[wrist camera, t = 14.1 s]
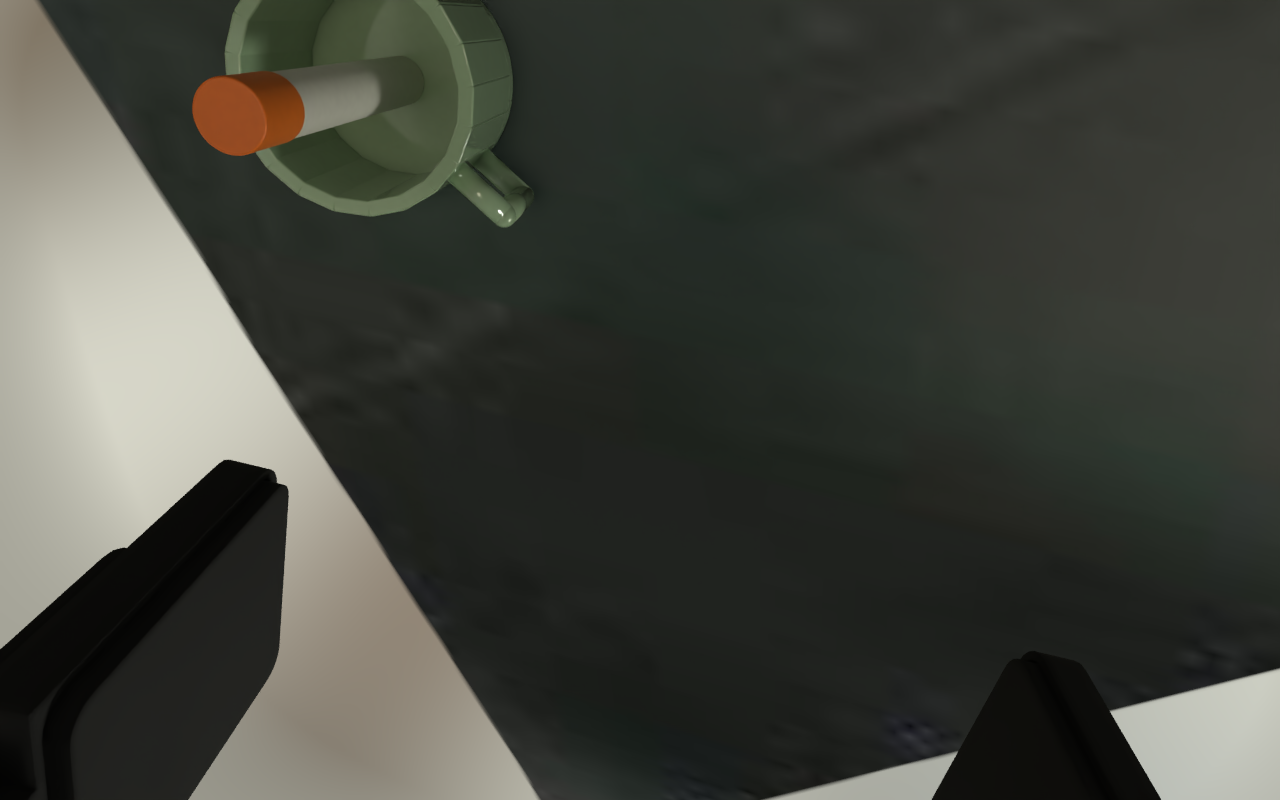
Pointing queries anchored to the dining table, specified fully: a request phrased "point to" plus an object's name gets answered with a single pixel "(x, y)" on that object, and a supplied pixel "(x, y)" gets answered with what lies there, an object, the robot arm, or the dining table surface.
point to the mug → (403, 137)
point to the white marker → (299, 101)
